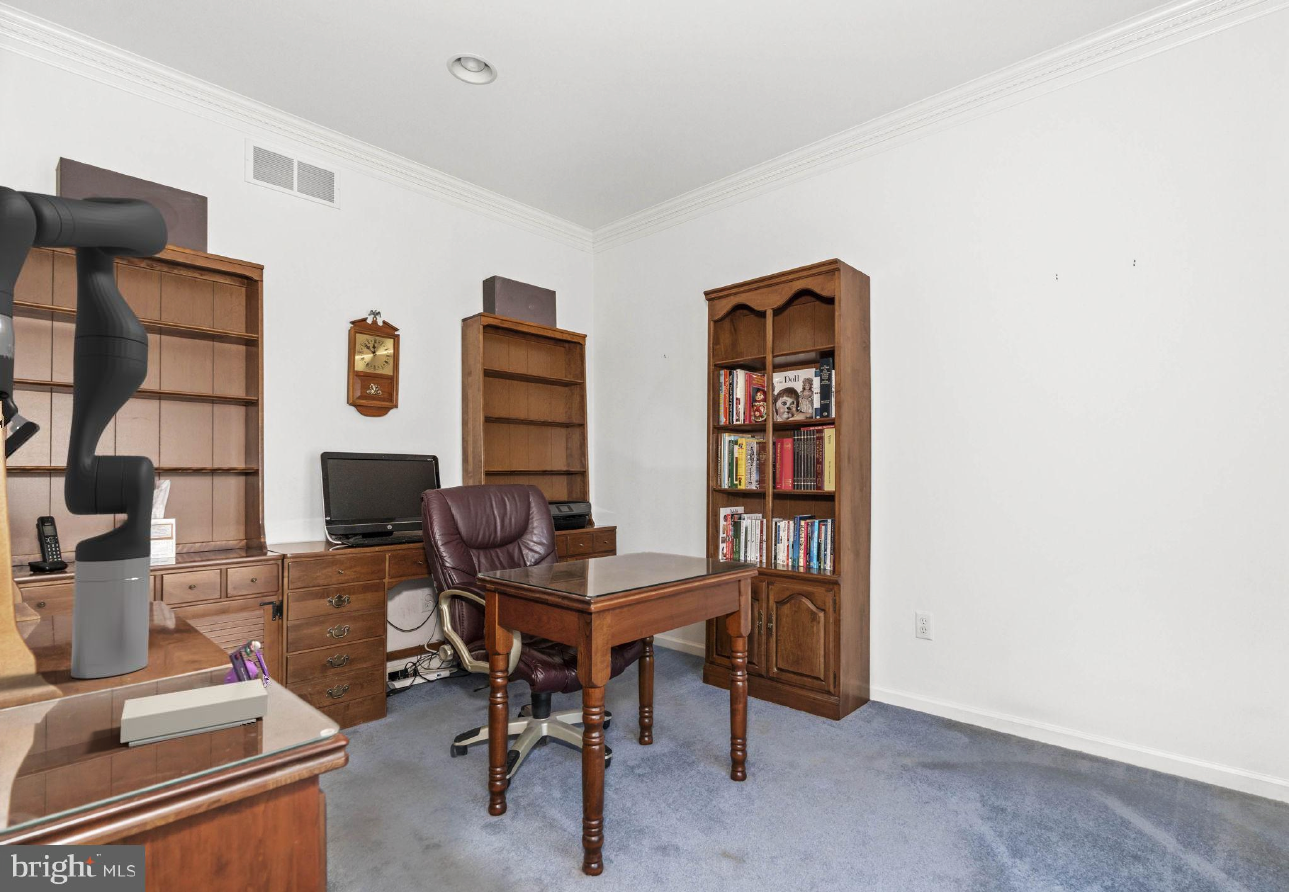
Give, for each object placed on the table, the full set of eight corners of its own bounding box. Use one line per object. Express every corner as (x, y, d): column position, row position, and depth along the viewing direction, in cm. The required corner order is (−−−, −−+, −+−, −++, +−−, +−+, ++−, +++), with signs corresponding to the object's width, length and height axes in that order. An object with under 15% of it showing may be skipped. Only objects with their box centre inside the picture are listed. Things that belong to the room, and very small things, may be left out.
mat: (133, 722, 79) (133, 720, 79) (248, 702, 86) (248, 700, 86) (128, 746, 72) (129, 744, 72) (255, 722, 79) (255, 720, 79)
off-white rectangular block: (125, 700, 79) (260, 678, 87) (124, 722, 79) (260, 699, 87) (121, 719, 72) (267, 694, 80) (120, 744, 72) (267, 716, 80)
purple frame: (237, 652, 86) (259, 636, 95) (194, 668, 85) (221, 651, 94) (256, 700, 87) (276, 680, 95) (213, 717, 85) (237, 695, 94)
